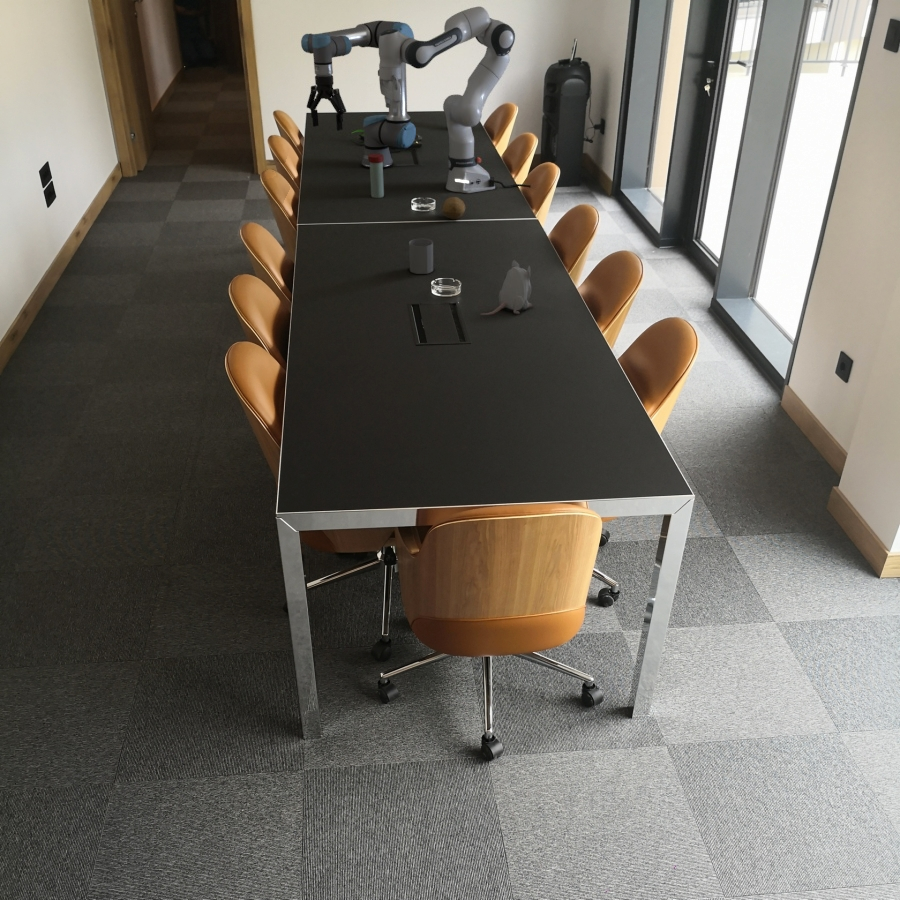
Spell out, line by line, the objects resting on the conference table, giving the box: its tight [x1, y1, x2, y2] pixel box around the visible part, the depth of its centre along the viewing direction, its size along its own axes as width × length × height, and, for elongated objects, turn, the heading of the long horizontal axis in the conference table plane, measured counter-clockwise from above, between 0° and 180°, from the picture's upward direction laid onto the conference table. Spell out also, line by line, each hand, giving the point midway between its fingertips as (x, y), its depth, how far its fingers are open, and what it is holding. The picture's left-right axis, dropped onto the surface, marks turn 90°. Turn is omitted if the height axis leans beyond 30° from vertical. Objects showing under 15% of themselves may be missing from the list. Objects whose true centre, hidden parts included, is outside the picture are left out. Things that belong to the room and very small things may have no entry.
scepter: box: [349, 129, 365, 146], centre depth 465 cm, size 6×13×30 cm
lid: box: [369, 154, 383, 163], centre depth 375 cm, size 6×6×2 cm
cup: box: [408, 237, 434, 275], centre depth 305 cm, size 8×8×10 cm
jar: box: [369, 162, 385, 199], centre depth 380 cm, size 6×6×17 cm
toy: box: [481, 259, 533, 316], centre depth 272 cm, size 9×24×15 cm, turn 137°
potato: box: [441, 196, 466, 220], centre depth 355 cm, size 10×14×8 cm
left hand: (327, 128), depth 372 cm, fingers open, 13 cm apart
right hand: (391, 109), depth 360 cm, fingers open, 8 cm apart
